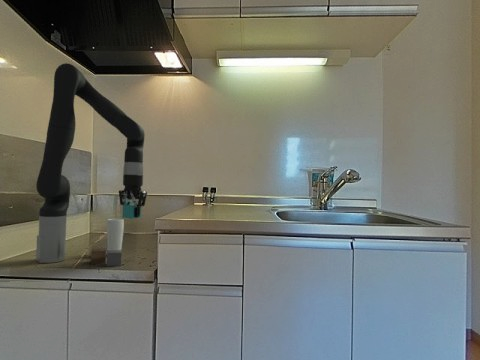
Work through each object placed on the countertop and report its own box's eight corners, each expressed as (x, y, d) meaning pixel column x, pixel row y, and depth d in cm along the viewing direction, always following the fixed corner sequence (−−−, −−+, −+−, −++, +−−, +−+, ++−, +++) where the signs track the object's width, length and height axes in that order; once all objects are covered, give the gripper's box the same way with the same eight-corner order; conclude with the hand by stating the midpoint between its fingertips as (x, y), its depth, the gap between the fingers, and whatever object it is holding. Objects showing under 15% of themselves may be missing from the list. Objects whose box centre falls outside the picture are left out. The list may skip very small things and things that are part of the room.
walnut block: (105, 263, 127) (105, 250, 127) (91, 264, 126) (91, 250, 126) (105, 260, 132) (106, 247, 132) (91, 261, 130) (92, 248, 130)
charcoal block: (120, 266, 124) (121, 252, 124) (106, 266, 123) (106, 253, 123) (120, 263, 129) (121, 249, 129) (106, 263, 127) (107, 250, 127)
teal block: (131, 218, 130) (131, 205, 130) (122, 217, 133) (122, 204, 133) (141, 217, 135) (141, 205, 135) (132, 216, 137) (132, 204, 137)
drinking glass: (104, 256, 138) (105, 220, 138) (107, 253, 145) (108, 218, 145) (122, 256, 140) (123, 220, 140) (123, 253, 146) (124, 218, 146)
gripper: (113, 173, 134) (111, 216, 134) (138, 173, 127) (137, 218, 127) (128, 174, 141) (126, 214, 141) (153, 174, 133) (151, 217, 133)
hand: (131, 216), depth 134 cm, fingers closed on teal block, 5 cm apart
